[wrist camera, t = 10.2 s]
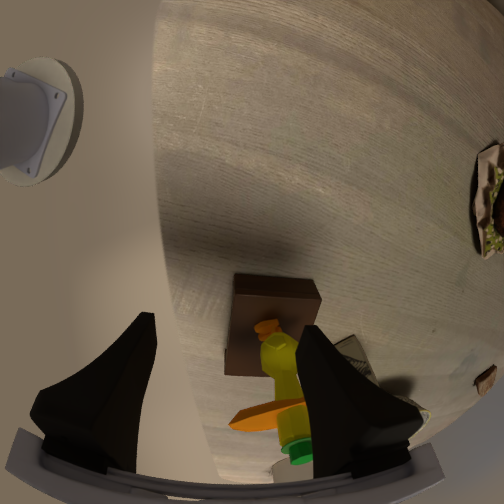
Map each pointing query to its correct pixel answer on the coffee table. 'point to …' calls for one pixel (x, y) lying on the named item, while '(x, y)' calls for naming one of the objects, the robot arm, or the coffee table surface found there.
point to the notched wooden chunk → (486, 381)
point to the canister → (291, 471)
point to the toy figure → (280, 396)
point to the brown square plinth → (266, 317)
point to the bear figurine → (490, 200)
